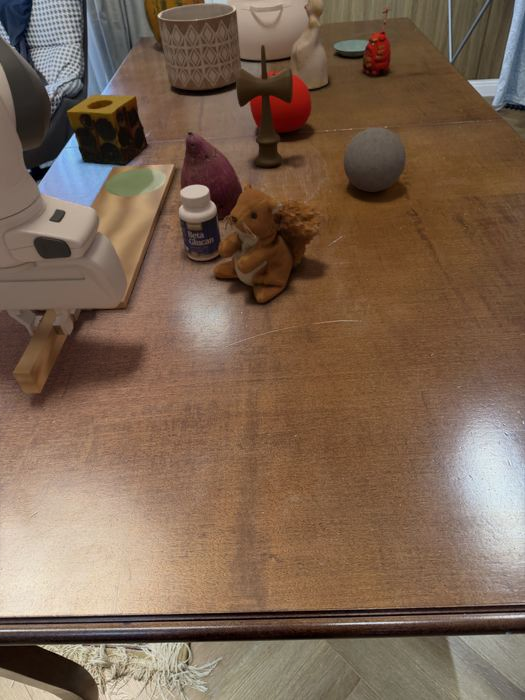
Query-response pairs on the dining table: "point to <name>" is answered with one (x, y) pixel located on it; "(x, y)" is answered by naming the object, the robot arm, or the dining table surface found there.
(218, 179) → the vegetable
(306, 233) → the stuffed squirrel
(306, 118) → the tomato
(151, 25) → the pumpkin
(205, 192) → the pill bottle
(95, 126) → the spotted cube with hole
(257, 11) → the pot
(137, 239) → the board
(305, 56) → the figurine
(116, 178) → the plate
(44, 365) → the tan wooden bar
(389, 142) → the decorative ball
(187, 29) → the planter
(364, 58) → the red clay folk toy
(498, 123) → the dining table surface
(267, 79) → the kendama
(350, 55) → the saucer
